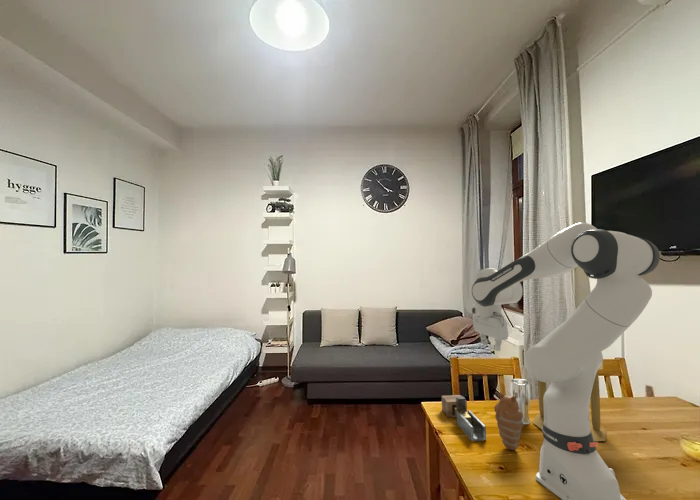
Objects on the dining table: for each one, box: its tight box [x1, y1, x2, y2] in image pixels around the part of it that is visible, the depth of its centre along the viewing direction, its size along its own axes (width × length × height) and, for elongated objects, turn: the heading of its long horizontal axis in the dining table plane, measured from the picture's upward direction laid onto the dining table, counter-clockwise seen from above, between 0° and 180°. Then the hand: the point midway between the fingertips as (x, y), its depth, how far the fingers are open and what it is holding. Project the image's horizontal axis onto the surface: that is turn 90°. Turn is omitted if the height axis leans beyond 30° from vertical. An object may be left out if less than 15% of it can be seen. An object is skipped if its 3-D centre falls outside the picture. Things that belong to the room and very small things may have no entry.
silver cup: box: [509, 378, 531, 425], centre depth 133 cm, size 7×7×15 cm
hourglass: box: [532, 362, 607, 442], centre depth 127 cm, size 24×22×25 cm
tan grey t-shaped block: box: [452, 396, 472, 425], centre depth 134 cm, size 14×3×8 cm, turn 4°
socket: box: [441, 394, 468, 418], centre depth 140 cm, size 6×8×6 cm
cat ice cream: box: [493, 391, 524, 451], centre depth 113 cm, size 9×8×18 cm
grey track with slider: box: [456, 409, 487, 442], centre depth 124 cm, size 13×5×5 cm, turn 4°
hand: (490, 347), depth 130 cm, fingers open, 8 cm apart
